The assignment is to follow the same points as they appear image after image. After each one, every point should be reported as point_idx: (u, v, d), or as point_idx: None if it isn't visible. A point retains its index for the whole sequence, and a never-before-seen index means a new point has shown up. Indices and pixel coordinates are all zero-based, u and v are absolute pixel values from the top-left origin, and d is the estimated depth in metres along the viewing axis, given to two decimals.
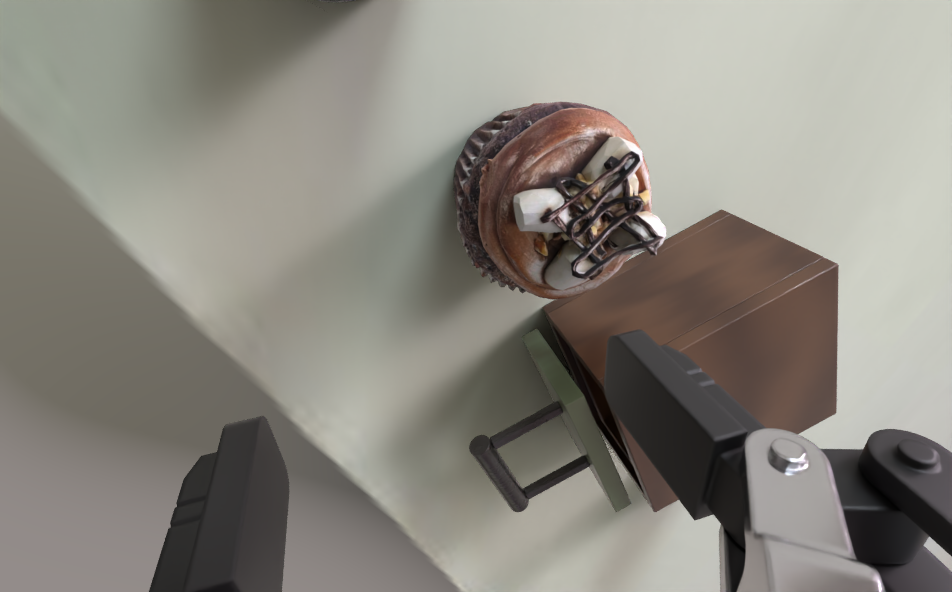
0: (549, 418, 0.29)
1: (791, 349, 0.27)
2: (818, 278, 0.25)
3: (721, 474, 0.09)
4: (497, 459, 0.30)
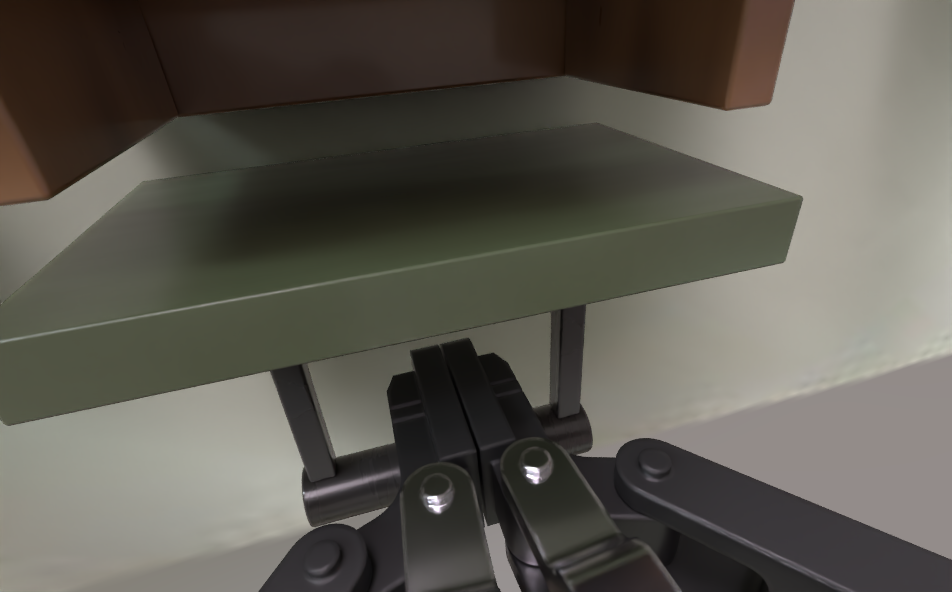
0: None
1: None
2: None
3: (494, 481, 0.09)
4: (368, 481, 0.11)
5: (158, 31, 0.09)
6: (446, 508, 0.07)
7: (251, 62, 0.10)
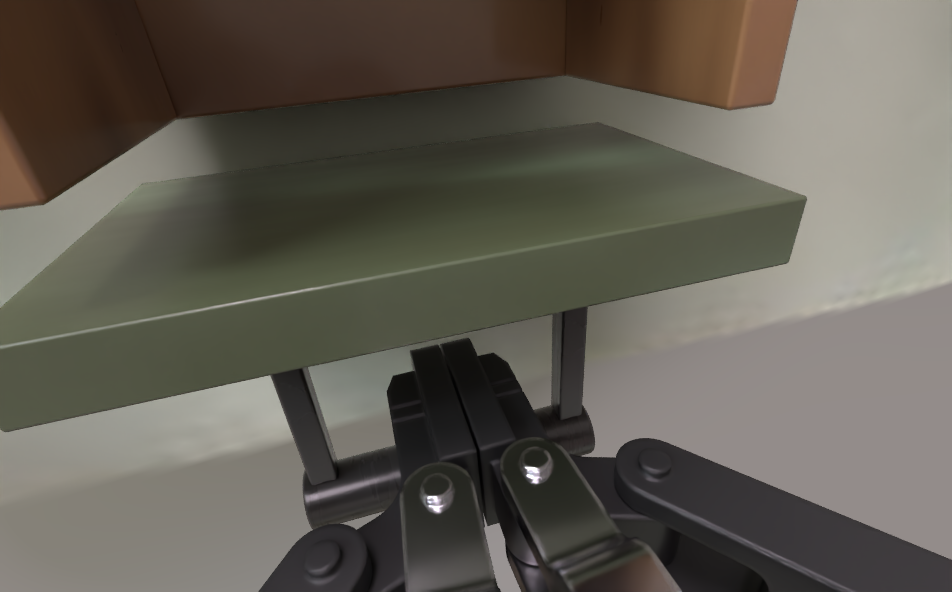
0: None
1: None
2: None
3: (494, 481, 0.09)
4: (369, 484, 0.11)
5: (156, 33, 0.09)
6: (446, 508, 0.07)
7: (250, 63, 0.10)
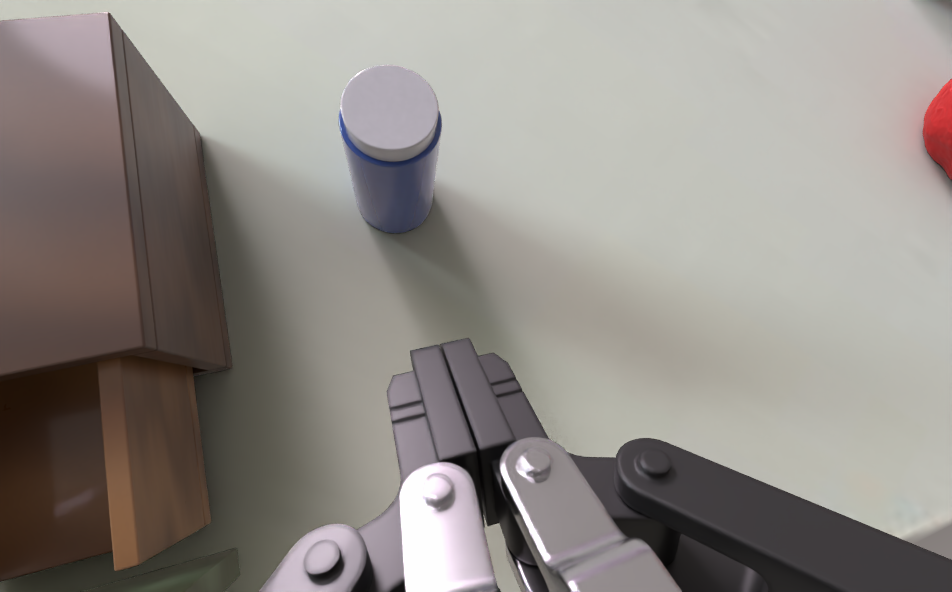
0: None
1: None
2: None
3: (494, 481, 0.09)
4: None
5: None
6: (446, 508, 0.07)
7: (9, 557, 0.20)
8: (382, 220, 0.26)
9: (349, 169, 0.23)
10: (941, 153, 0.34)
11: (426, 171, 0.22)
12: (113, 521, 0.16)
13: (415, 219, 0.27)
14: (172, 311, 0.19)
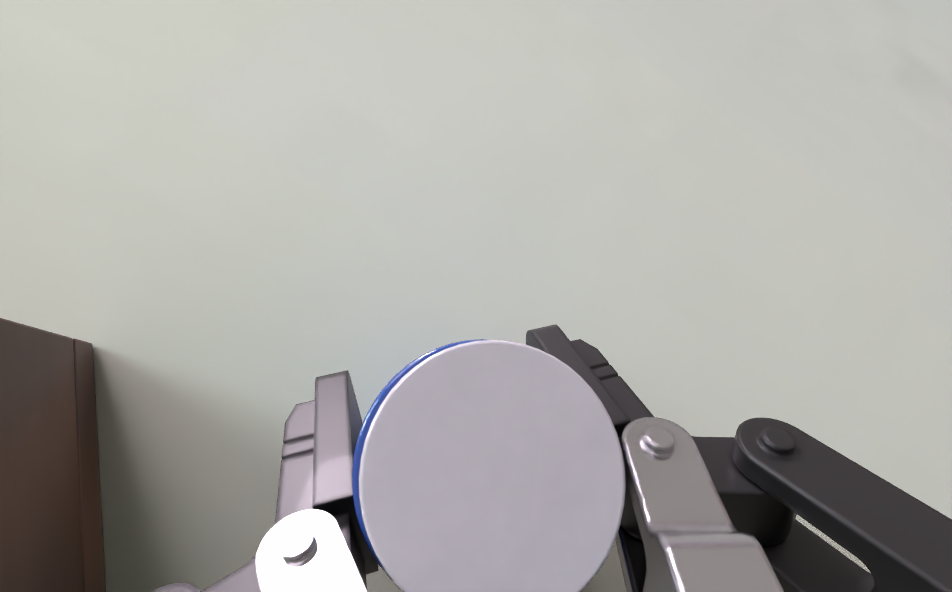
0: None
1: None
2: None
3: None
4: None
5: None
6: (302, 564, 0.07)
7: None
8: None
9: None
10: None
11: None
12: None
13: None
14: None
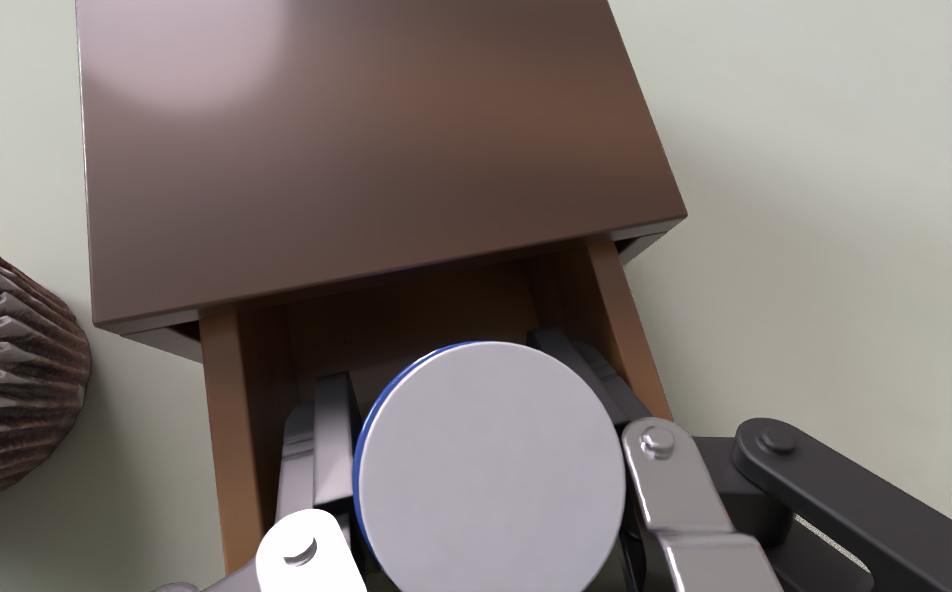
0: None
1: None
2: None
3: None
4: None
5: None
6: (302, 564, 0.07)
7: None
8: None
9: None
10: None
11: None
12: None
13: None
14: None
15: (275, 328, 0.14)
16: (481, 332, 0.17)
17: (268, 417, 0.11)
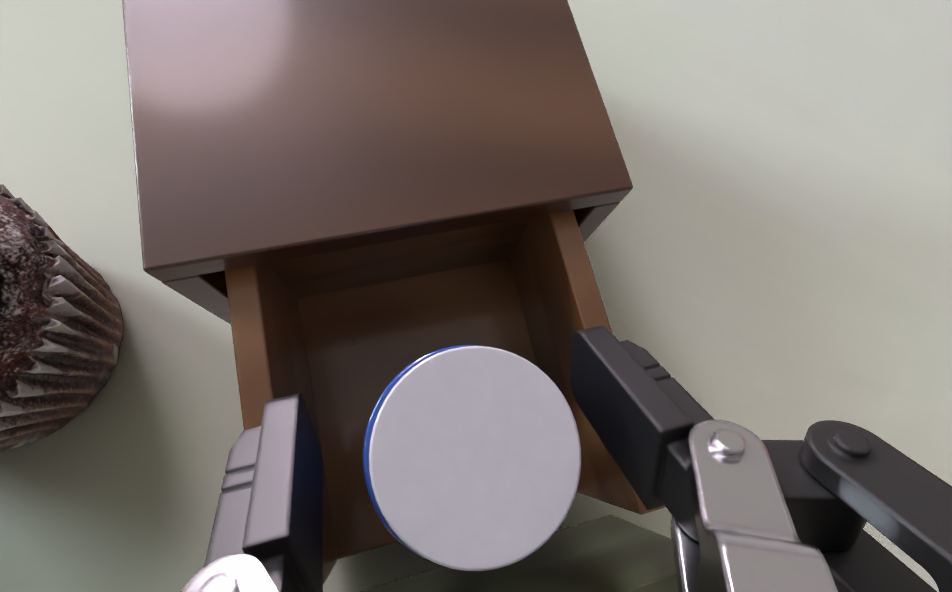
0: None
1: None
2: None
3: (669, 464, 0.09)
4: None
5: (335, 510, 0.16)
6: None
7: None
8: None
9: None
10: None
11: None
12: None
13: None
14: None
15: (292, 330, 0.16)
16: (475, 334, 0.19)
17: None
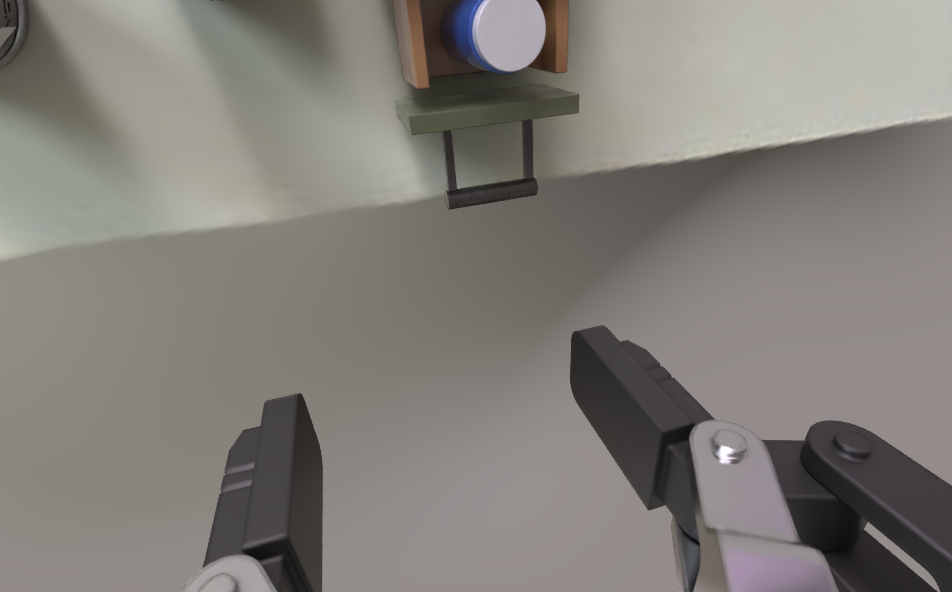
0: (449, 138, 0.34)
1: None
2: None
3: (669, 464, 0.09)
4: (466, 192, 0.36)
5: None
6: None
7: (436, 63, 0.34)
8: (464, 63, 0.33)
9: (455, 38, 0.30)
10: None
11: None
12: (558, 45, 0.31)
13: None
14: None
15: None
16: None
17: None
